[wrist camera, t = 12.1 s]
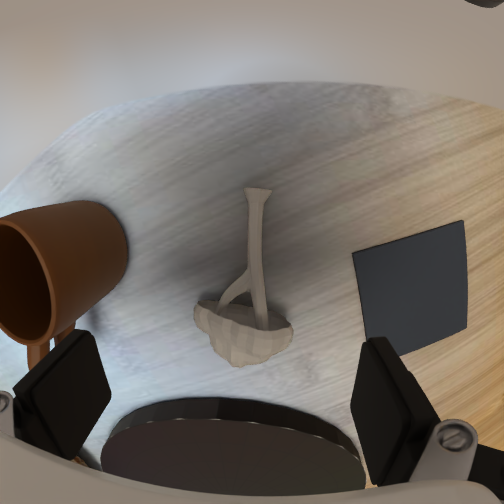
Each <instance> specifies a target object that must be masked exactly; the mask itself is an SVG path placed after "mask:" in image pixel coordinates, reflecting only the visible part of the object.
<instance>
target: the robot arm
mask: <svg viewBox="0 0 504 504" xmlns="http://www.w3.org/2000/svg"><path fill="white" fill-rule="evenodd" d="M12 389H13V391H14V393H15V395H16V397H15V398H14V399H13V397H12V395H11V394H10V393H8V392H6V391H0V504H504V451H501V450H497V449H494V448H491V447H487V446H484V445H481V444H478V435H477V432H476V430H475V429H474V428H473V426H472V425H470V424H469V423H467V422H465V421H463V420H459V419H447V420H444V421H441V420H440V418H439V417H438V415H437V413H436V412H435V410H434V408H433V407H432V405H431V403H430V402H429V400H428V398H427V397H426V395H425V393H424V392H423V390H422V389H421V387H420V385H419V384H418V382H417V380H416V379H415V377H414V376H413V374H412V373H411V372H410V371H408V370H407V368H406V367H405V365H404V364H403V362H402V361H401V359H400V357H399V356H398V354H397V353H396V351H395V350H394V348H393V347H392V345H391V343H390V342H389V340H388V339H387V338H386V337H385V336H382V337H370V338H368V340H367V342H363V344H362V348H361V353H360V359H359V364H358V369H357V374H356V379H355V384H354V389H353V393H352V398H351V403H350V408H351V413H352V417H353V420H354V423H355V427H356V430H357V433H358V437H359V440H360V444H361V447H362V451H363V454H364V458H365V461H366V465H367V468H368V472H369V476H370V480H371V483H372V484H373V485H376V484H377V486H378V487H375V488H368V489H362V490H355V491H348V492H339V493H330V494H318V495H303V496H237V495H222V494H211V493H202V492H194V491H186V490H180V489H174V488H168V487H162V486H157V485H152V484H147V483H143V482H138V481H134V480H130V479H126V478H122V477H118V476H115V475H111V474H108V473H104V472H101V471H98V470H95V469H91V468H88V467H85V466H82V465H80V464H77V463H74V462H71V460H73V459H75V457H76V456H77V454H78V452H79V451H80V449H81V447H82V446H83V444H84V442H85V441H86V439H87V437H88V436H89V434H90V432H91V431H92V429H93V427H94V426H95V424H96V422H97V421H98V419H99V418H100V416H101V414H102V413H103V411H104V410H105V408H106V406H107V405H108V403H109V402H110V400H111V390H110V387H109V384H108V381H107V378H106V375H105V372H104V368H103V365H102V362H101V359H100V355H99V352H98V348H97V345H96V341H95V338H94V336H93V335H91V333H90V332H89V331H87V330H80V329H74V330H73V331H72V332H70V333H69V334H68V335H67V336H66V337H65V338H64V339H63V340H62V341H61V342H60V343H58V344H57V345H56V346H55V347H54V348H53V349H52V350H51V351H50V352H49V353H48V354H47V355H46V356H45V357H44V358H43V359H42V360H40V361H39V362H38V363H37V364H36V365H35V366H34V367H33V368H32V369H31V370H30V371H29V372H28V373H27V374H26V375H25V376H24V377H23V378H22V379H21V380H20V381H19V382H18V383H17V384H16V385H15V386H14V387H13V388H12Z"/></svg>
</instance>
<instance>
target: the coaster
mask: <svg viewBox="0 0 504 504" xmlns="http://www.w3.org/2000/svg"><path fill="white" fill-rule="evenodd" d="M352 255H353V260H354V265H355V271H356V276H357V282H358V288H359V294H360V300H361V306H362V312H363V319H364V326H365V333H366V341H367V340H368V338H370V337H382V336H385V337H386V338H387V339H388V340H389V342H390V343H391V345H392V347H393V348H394V350H395V351H396V353H397V354H398V356H402V355H405V354H407V353H410V352H412V351H415V350H418V349H420V348H423V347H425V346H428V345H430V344H432V343H435V342H437V341H439V340H442V339H444V338H446V337H449V336H451V335H453V334H455V333H457V332H460V331H462V330H464V329H466V328H467V306H468V278H467V254H466V240H465V229H464V221H463V220H460V221H457V222H454V223H451V224H448V225H444V226H441V227H438V228H435V229H432V230H428V231H425V232H422V233H419V234H415V235H412V236H409V237H405V238H402V239H399V240H395V241H392V242H389V243H385V244H382V245H378V246H375V247H372V248H368V249H365V250H361V251H358V252H354V253H352Z"/></svg>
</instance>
